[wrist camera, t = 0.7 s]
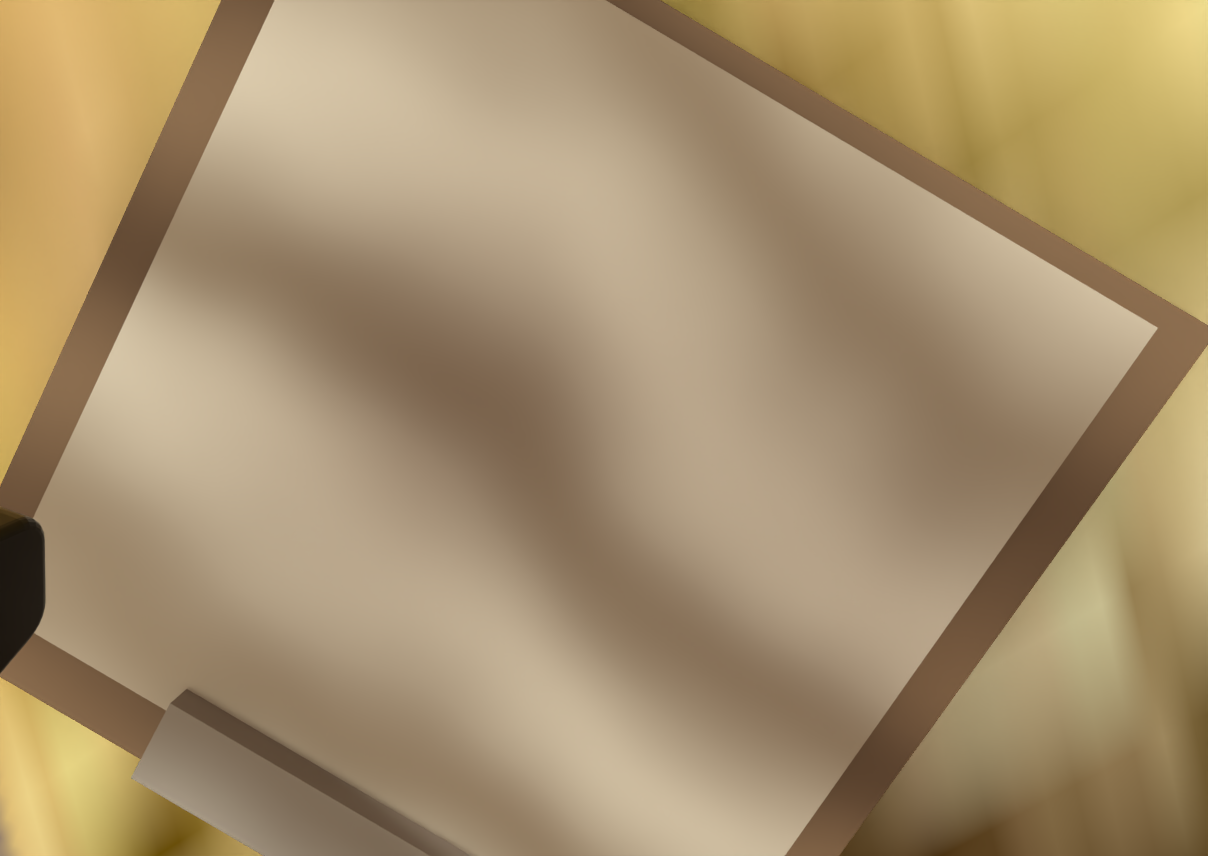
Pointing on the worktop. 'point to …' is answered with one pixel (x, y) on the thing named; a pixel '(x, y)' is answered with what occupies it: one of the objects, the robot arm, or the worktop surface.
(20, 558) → the robot arm
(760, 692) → the brown framed square board
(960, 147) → the worktop surface
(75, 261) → the worktop surface
